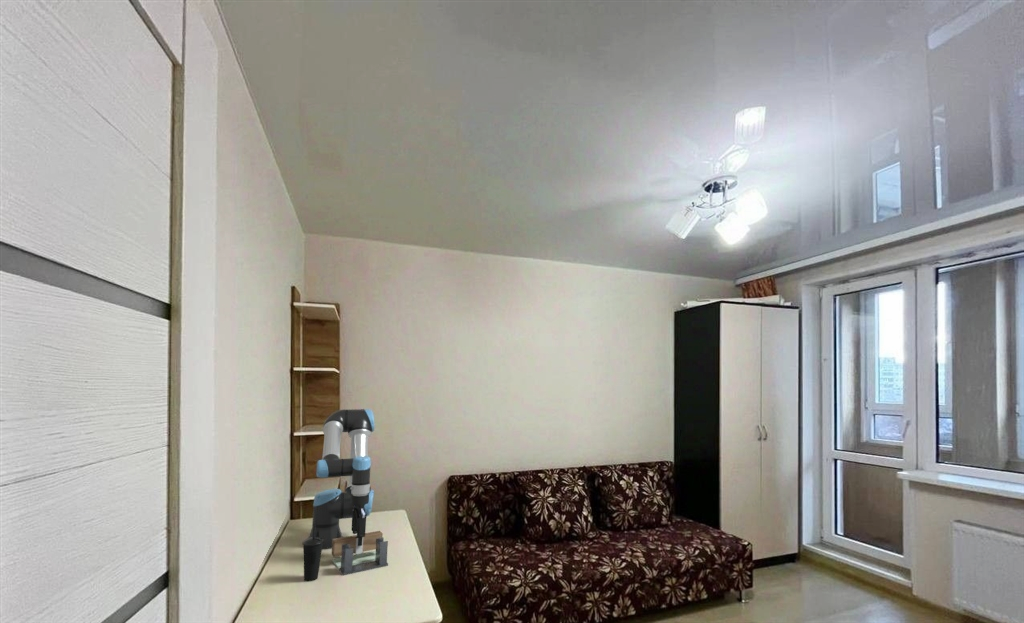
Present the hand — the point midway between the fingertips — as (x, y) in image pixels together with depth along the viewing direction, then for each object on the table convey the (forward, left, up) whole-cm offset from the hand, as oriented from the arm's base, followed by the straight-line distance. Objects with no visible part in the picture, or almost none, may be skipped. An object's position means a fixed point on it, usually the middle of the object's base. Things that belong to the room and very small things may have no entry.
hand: (357, 551), depth 201 cm
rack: (+10, 0, -3) cm, 10 cm away
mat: (0, 0, -3) cm, 3 cm away
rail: (0, 0, 0) cm, 0 cm away
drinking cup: (+9, -20, -4) cm, 22 cm away
